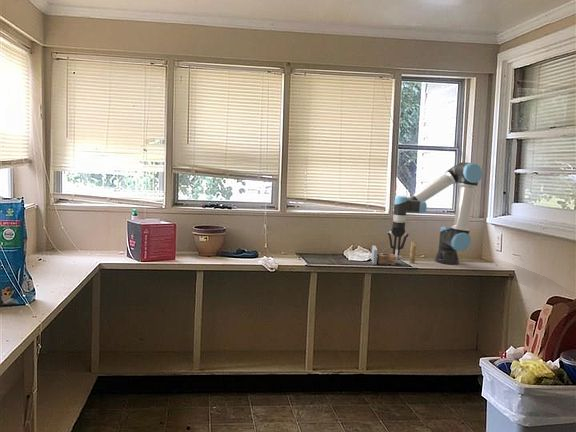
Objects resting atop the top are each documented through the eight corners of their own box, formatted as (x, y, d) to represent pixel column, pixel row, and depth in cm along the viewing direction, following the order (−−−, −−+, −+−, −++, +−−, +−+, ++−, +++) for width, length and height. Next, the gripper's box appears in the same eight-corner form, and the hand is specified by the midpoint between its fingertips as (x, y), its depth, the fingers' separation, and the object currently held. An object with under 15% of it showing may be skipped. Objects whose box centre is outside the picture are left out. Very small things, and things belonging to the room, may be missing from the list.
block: (393, 261, 376) (393, 253, 376) (394, 265, 366) (395, 256, 366) (376, 260, 377) (377, 252, 376) (378, 263, 367) (379, 255, 366)
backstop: (374, 259, 380) (375, 245, 379) (376, 264, 364) (377, 250, 363) (370, 259, 380) (372, 245, 379) (373, 264, 364) (374, 249, 363)
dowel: (414, 262, 380) (416, 242, 379) (414, 263, 377) (416, 242, 375) (409, 262, 380) (410, 241, 379) (409, 263, 377) (411, 242, 376)
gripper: (408, 221, 372) (405, 259, 374) (387, 220, 372) (384, 257, 375) (410, 223, 364) (407, 261, 367) (388, 221, 365) (385, 260, 368)
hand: (395, 259), depth 371 cm, fingers closed
